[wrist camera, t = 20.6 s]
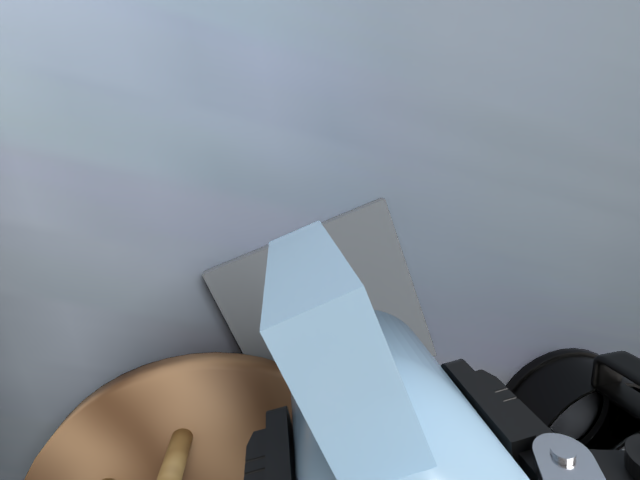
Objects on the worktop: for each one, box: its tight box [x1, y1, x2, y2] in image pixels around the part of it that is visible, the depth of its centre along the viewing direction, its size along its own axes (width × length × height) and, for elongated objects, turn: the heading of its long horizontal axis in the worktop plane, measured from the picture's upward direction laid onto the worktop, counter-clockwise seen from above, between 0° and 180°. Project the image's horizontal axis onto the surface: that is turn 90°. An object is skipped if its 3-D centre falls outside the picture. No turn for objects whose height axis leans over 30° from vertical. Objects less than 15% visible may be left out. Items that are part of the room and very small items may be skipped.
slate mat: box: [202, 198, 436, 361], centre depth 19 cm, size 10×10×1 cm
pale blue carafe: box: [260, 221, 530, 480], centre depth 9 cm, size 10×6×9 cm, turn 23°
